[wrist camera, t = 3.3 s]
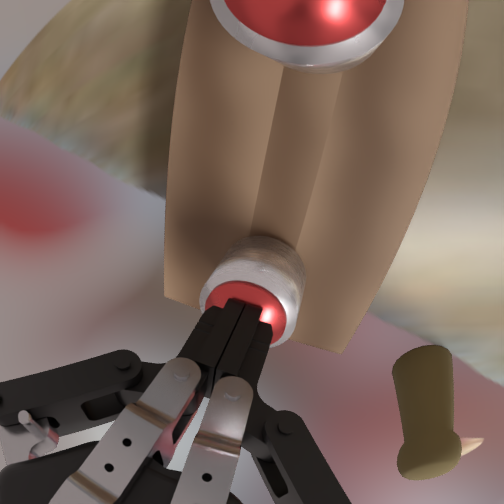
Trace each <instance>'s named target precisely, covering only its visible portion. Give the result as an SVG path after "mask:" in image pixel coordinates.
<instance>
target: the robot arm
mask: <svg viewBox="0 0 504 504" xmlns="http://www.w3.org/2000/svg"><path fill="white" fill-rule="evenodd" d="M262 312H263V308H260V307H257V306H254V305H250V304H246V303H244V302H241V301H238V300H235V299H232V298H229V299H228V300H227V302H226V304H225V306H224V308H220V307H218V306H215V305H213V306H212V307H210V308H209V309H207V310H206V311H204V313H203V315H202V316H201V318H200V320H199V322H198V323H197V325H196V326H195V329H194V330H193V331H192V333H191V335H190V336H189V338H188V340H187V341H186V343H185V345H184V346H183V348H182V350H181V351H180V353H179V354H178V356H177V357H176V358H174V359H171V360H170V361H168V362H167V363H162V364H155V363H148V362H141V360H140V358H139V357H138V356H137V354H135V353H134V352H132V351H129V350H117V351H114V352H111V353H107V354H104V355H101V356H97V357H94V358H91V359H88V360H84V361H80V362H77V363H73V364H70V365H66V366H63V367H59V368H55V369H52V370H48V371H44V372H40V373H37V374H33V375H29V376H25V377H21V378H17V379H13V380H9V381H5V382H0V440H1V445H2V449H3V453H4V457H5V461H6V465H7V466H6V467H5V468H3V469H2V470H1V472H0V504H243V503H242V502H241V501H240V500H239V499H238V498H237V497H236V496H235V495H234V494H232V493H231V492H230V488H231V484H232V480H233V477H234V474H235V470H236V466H237V462H238V458H239V455H240V450H241V447H243V448H244V449H246V450H247V451H249V452H250V453H251V455H252V457H253V460H254V462H255V464H256V466H257V468H258V470H259V472H260V475H261V477H262V479H263V480H264V483H265V485H266V487H267V489H268V491H269V493H270V495H271V497H272V499H273V501H274V503H275V504H351V502H350V500H349V499H348V497H347V496H346V494H345V492H344V490H343V489H342V487H341V485H340V484H339V482H338V480H337V479H336V477H335V475H334V474H333V472H332V470H331V469H330V467H329V465H328V463H327V462H326V460H325V458H324V457H323V455H322V453H321V451H320V450H319V448H318V446H317V445H316V443H315V441H314V439H313V437H312V436H311V434H310V432H309V430H308V429H307V427H306V425H305V423H304V421H303V420H302V418H301V417H300V416H298V415H297V414H295V413H294V412H291V411H286V410H283V411H276V410H274V409H273V408H271V407H270V406H268V405H267V404H266V403H264V402H263V401H262V399H261V398H260V397H259V395H258V392H257V383H258V380H259V377H260V374H261V371H262V368H263V365H264V362H265V359H266V356H267V353H268V350H269V347H270V344H271V340H272V337H273V330H272V325H271V324H269V323H266V322H263V321H260V319H261V316H262ZM204 397H207V398H209V399H210V400H209V403H208V406H207V409H206V411H205V414H204V417H203V420H202V423H201V426H200V428H199V431H198V433H197V434H196V436H195V438H194V441H193V443H192V446H191V449H190V452H189V454H188V457H187V460H186V463H185V466H184V468H183V471H182V472H180V471H175V470H169V469H166V468H167V466H168V465H169V463H170V461H171V460H172V457H173V455H174V452H175V449H176V447H177V445H178V443H179V442H180V440H181V438H182V437H183V435H184V433H185V432H186V430H187V428H188V427H189V425H190V423H191V422H192V420H193V418H194V416H195V415H196V413H197V411H198V408H199V406H200V404H201V402H202V400H203V398H204ZM114 420H115V422H114V423H113V424H112V425H111V427H110V428H109V429H108V431H107V432H106V433H105V435H104V436H103V437H102V439H101V440H100V441H92V442H88V443H84V444H81V445H78V446H75V447H72V448H69V449H66V450H62V451H59V452H56V453H52V454H49V455H45V453H47V452H50V451H52V450H54V449H55V448H56V447H57V444H58V442H59V437H61V436H64V435H68V434H71V433H75V432H79V431H82V430H86V429H89V428H92V427H96V426H99V425H102V424H105V423H108V422H111V421H114ZM44 455H45V456H44Z"/></svg>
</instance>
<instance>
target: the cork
mask: <svg viewBox="0 0 504 504" xmlns="http://www.w3.org/2000/svg"><path fill="white" fill-rule="evenodd" d="M392 374H393V379H394V384H395V389H396V394H397V399H398V405H399V411H400V416H401V422H402V429H403V435H404V444H403V445H402V447H401V448H400V451H399V454H398V457H397V467H398V470H399V472H400V474H401V475H402V477H404V478H407V479H409V480H424V479H430V478H434V477H438V476H440V475H443V474H445V473H447V472H449V471H450V470H452V469H453V468H454V467H455V466H456V465H457V464H458V462H459V460H460V457H461V451H462V446H461V441H460V438H459V436H458V435H457V434H456V433H455V432H454V431H453V425H454V387H453V385H454V384H453V364H452V354H451V353H450V352H449V350H448V349H446V348H444V347H442V346H437V345H427V346H421V347H418V348H415V349H412V350H410V351H408V352H407V353H405V354H403V355H402V356H401V357H400V358H399V359H398V360H397V361H396V362H395V364H394V366H393V370H392Z"/></svg>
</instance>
